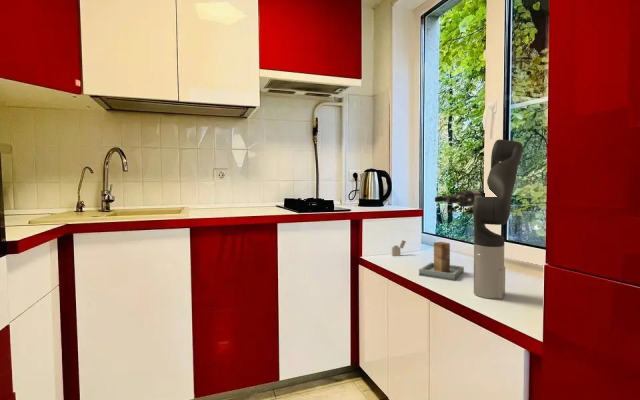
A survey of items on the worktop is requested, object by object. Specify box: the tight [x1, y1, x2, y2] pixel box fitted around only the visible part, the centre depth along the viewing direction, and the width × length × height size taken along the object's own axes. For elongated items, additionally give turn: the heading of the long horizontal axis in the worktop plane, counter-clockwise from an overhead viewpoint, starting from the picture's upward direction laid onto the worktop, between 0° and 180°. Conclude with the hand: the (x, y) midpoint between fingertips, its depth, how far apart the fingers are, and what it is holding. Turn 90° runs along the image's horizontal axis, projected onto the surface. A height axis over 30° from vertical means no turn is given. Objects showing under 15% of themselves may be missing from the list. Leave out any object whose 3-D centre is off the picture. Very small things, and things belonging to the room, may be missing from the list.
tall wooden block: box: [433, 241, 451, 273], centre depth 144 cm, size 4×4×12 cm
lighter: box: [391, 239, 407, 257], centre depth 179 cm, size 7×2×8 cm, turn 96°
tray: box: [418, 262, 465, 282], centre depth 144 cm, size 14×14×2 cm
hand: (442, 199), depth 155 cm, fingers open, 8 cm apart
